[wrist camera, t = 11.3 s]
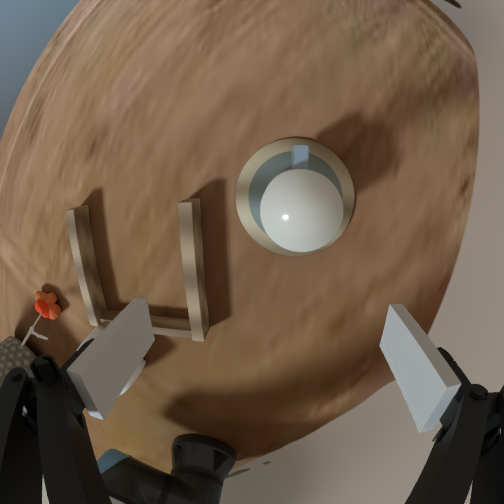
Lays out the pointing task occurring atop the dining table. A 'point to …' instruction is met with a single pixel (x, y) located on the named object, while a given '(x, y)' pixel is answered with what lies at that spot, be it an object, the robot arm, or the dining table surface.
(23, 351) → the planter
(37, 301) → the orange lump with branch
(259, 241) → the coaster
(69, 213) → the wooden u-shaped frame
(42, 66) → the dining table surface
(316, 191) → the blue handled white cup
